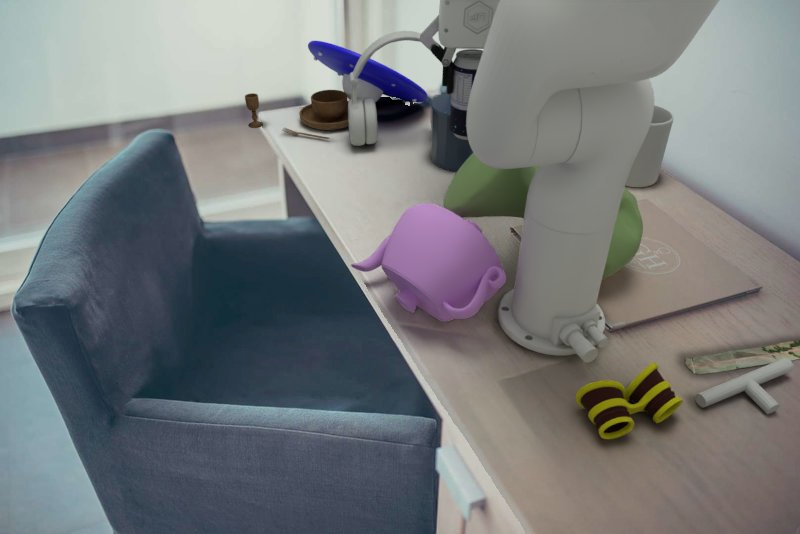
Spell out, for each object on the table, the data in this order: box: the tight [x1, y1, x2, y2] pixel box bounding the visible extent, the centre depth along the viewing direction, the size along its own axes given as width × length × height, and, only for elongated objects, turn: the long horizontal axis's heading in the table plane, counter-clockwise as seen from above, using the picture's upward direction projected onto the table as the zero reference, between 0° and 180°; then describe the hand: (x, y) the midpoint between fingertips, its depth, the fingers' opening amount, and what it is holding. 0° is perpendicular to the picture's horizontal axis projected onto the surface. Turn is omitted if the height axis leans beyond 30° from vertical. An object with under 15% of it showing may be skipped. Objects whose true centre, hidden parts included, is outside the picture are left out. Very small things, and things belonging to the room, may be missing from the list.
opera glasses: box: [575, 362, 683, 440], centre depth 65 cm, size 10×5×5 cm, turn 112°
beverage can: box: [450, 49, 484, 140], centre depth 93 cm, size 6×6×12 cm
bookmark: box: [684, 339, 800, 375], centre depth 73 cm, size 3×21×1 cm, turn 102°
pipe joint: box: [694, 358, 795, 415], centre depth 67 cm, size 12×2×4 cm
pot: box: [430, 110, 473, 173], centre depth 110 cm, size 10×10×10 cm
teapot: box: [350, 202, 507, 322], centre depth 77 cm, size 20×13×12 cm
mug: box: [625, 104, 674, 188], centre depth 104 cm, size 12×8×11 cm
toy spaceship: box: [307, 40, 428, 104], centre depth 125 cm, size 25×25×7 cm
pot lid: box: [430, 92, 451, 118], centre depth 106 cm, size 11×11×5 cm
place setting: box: [244, 89, 349, 140], centre depth 125 cm, size 18×20×6 cm
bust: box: [442, 153, 644, 280], centre depth 81 cm, size 14×15×25 cm
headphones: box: [347, 30, 439, 147], centre depth 112 cm, size 20×8×19 cm, turn 97°
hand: (471, 89), depth 93 cm, fingers closed on beverage can, 5 cm apart
